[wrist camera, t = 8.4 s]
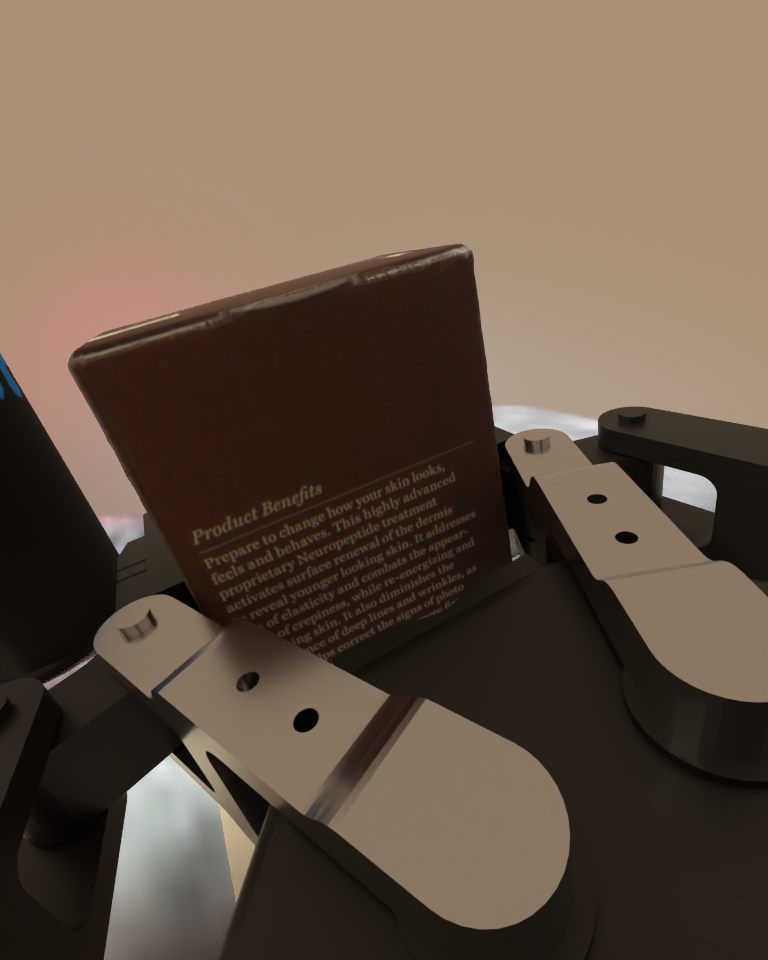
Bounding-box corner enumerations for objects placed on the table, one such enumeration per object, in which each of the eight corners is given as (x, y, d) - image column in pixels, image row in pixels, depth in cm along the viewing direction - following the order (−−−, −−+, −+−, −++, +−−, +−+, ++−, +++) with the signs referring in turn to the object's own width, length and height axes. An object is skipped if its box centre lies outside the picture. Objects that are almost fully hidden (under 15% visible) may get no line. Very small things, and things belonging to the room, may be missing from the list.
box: (452, 633, 16) (378, 249, 11) (540, 743, 13) (496, 237, 7) (283, 719, 15) (94, 321, 9) (326, 874, 11) (49, 356, 6)
